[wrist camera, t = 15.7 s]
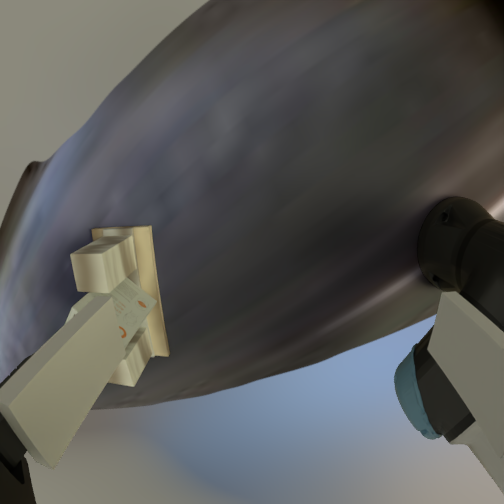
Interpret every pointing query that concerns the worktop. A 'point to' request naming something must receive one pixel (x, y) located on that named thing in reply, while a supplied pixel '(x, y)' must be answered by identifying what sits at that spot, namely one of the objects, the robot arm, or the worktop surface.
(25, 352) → the worktop surface
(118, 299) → the small box
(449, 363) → the robot arm
